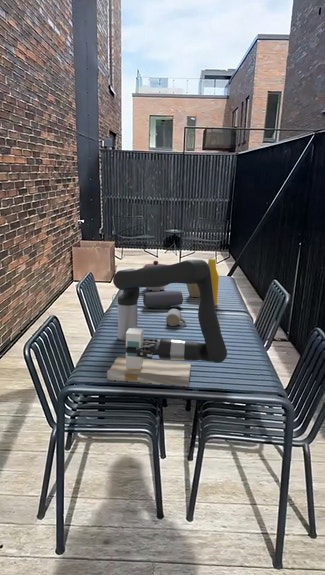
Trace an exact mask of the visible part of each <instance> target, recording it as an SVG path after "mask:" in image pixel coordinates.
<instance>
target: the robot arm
mask: <svg viewBox="0 0 325 575" xmlns="http://www.w3.org/2000/svg"><path fill="white" fill-rule="evenodd" d="M161 264H162V265H153V266H148V267H144V268H143V267H141V268H138V269H135V268H127V269H121V270H120V269H119V270H118V271H117V272H115V273H114V275H113V278H112V282H113V285H114V287H115V288H116V289H118V290H120V291H124V290H125V292H124V293H123V292H122V293H121V294H119V295H120V296H119V295H118V297H117V308H118V309H117V339H118V340H119V341H123V342H124V341H125V342H126V332H127V331H128V329H129V328H135V329H138V318H137V316H138V300H139V299H140V288H146V287H162V286H165V287H166V286H168V285H170V284H184V285H185V284H186V285H187V284H197V286H198V289H199V292H200V297H199V304H198V310H197V317H198V323H199V327H200V330H201V333H202V336H203V339H204V342H198V341H189V340H181V339H171V338H161V339H160V340H159V341H158V338H143V346H142V347H137V348H136V347H126V346H125V353H126V352H127V353H136V354H137V357H142V358H143V359H148V360H153V356H158V358H159V359H160V360H165V361H169V360H170V361H190V362H191V361H193V362H198V361H202V362H211V363H215V364H217V363H218V364H220V363H223V362H224V361H225V360H226V358H227V356H228V351H227V347H226V343H225V341H224V338H223V335H222V330H221V325H220V322H219V319H218V314H217V310H216V306H215V305H214V298H213V289H212V280H211V272H210V268H209V265H208V262H207V261H206V260H203V259H186V260H183V261H179V262H176V263H173V264H163V263H161ZM141 349H142V350H141ZM140 354H143V355H140Z"/></svg>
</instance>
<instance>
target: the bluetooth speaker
mask: <svg viewBox="0 0 325 575" xmlns="http://www.w3.org/2000/svg"><path fill="white" fill-rule="evenodd" d="M142 297H143V298H142V301H143V306H144V307H145V308H154V309H155V308H160V309H168V308H167V307H171V308H172V307H175V306H180V305H183V303H184V298H183V292H182V291H181V290H168V291H167V290H166V291H164V290H162V291H150V292H145V293H143V296H142Z"/></svg>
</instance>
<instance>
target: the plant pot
mask: <svg viewBox="0 0 325 575" xmlns="http://www.w3.org/2000/svg"><path fill="white" fill-rule="evenodd" d="M186 288H187V291H188V295H189V297H190V296H191V297H190V298H193V297H199V298H200V292H199V289H198V286H197V284H186Z"/></svg>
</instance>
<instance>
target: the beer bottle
mask: <svg viewBox="0 0 325 575" xmlns="http://www.w3.org/2000/svg"><path fill="white" fill-rule="evenodd" d="M216 261H217V260H216V258H208V262H207V264H208V265H209V268H210V272H211V280H212V289H213V298H214V305H215V307H216V306H217V305H218V292H219V278H220V277H219V274H218V273H219V272H218V271H217V262H216Z"/></svg>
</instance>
